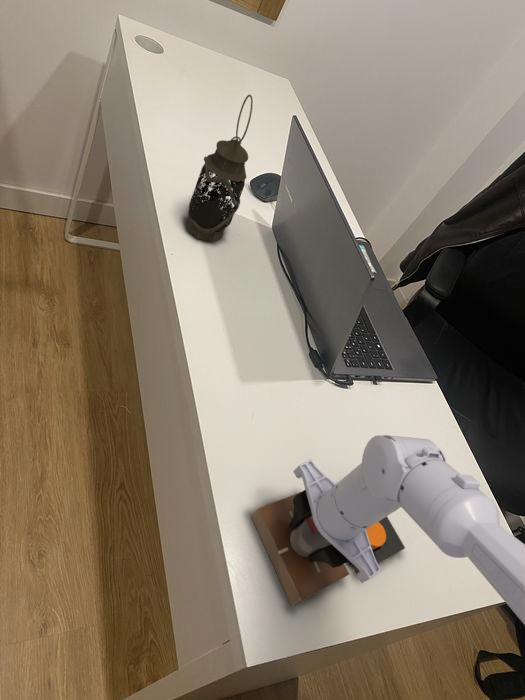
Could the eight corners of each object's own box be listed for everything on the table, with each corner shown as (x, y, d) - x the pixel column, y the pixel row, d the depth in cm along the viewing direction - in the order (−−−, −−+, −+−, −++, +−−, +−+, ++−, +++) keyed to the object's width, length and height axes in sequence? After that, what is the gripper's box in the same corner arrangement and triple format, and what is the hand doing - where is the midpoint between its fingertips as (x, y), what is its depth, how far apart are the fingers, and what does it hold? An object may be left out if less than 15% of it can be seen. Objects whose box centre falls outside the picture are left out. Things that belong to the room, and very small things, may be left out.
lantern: (182, 209, 102) (223, 74, 81) (224, 219, 105) (274, 91, 84) (183, 240, 96) (228, 103, 76) (228, 250, 99) (282, 121, 79)
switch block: (396, 552, 72) (412, 544, 69) (350, 578, 67) (365, 570, 64) (358, 483, 77) (371, 473, 74) (311, 503, 72) (324, 492, 69)
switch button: (384, 544, 68) (390, 540, 66) (365, 554, 66) (372, 550, 64) (370, 519, 69) (376, 515, 68) (351, 528, 67) (357, 524, 66)
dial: (323, 548, 65) (336, 539, 62) (300, 562, 62) (313, 553, 60) (307, 520, 66) (319, 510, 63) (284, 533, 64) (296, 523, 61)
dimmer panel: (339, 579, 66) (350, 573, 64) (290, 606, 62) (301, 601, 59) (298, 497, 71) (307, 488, 69) (250, 516, 67) (258, 508, 65)
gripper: (421, 545, 54) (359, 577, 64) (345, 434, 59) (298, 479, 69) (379, 578, 50) (319, 607, 59) (301, 455, 55) (258, 500, 65)
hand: (305, 540), depth 64 cm, fingers closed on dial, 4 cm apart
